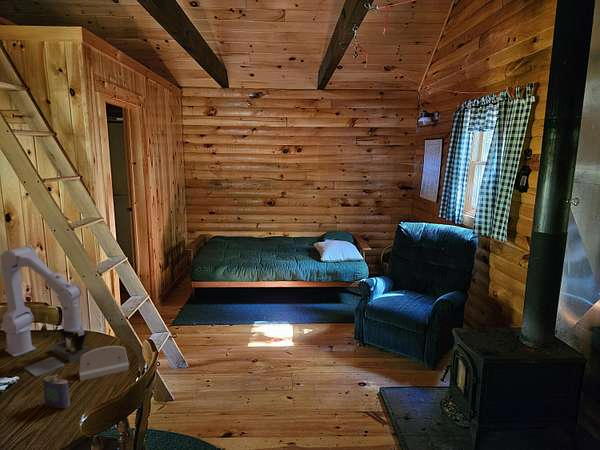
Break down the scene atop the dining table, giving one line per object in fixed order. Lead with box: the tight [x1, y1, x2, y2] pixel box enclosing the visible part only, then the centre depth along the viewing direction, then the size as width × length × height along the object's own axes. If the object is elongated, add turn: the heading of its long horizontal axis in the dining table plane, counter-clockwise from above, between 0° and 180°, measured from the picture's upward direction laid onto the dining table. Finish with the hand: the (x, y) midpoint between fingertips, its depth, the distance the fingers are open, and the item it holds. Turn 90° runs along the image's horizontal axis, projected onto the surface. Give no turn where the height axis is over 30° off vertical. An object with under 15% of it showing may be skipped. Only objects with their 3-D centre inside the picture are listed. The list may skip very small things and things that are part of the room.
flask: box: [42, 373, 71, 410], centre depth 122 cm, size 9×3×11 cm, turn 74°
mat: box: [23, 356, 66, 378], centre depth 145 cm, size 10×10×1 cm
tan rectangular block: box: [66, 336, 80, 354], centre depth 154 cm, size 4×4×8 cm
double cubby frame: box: [50, 339, 91, 363], centre depth 156 cm, size 16×8×2 cm, turn 56°
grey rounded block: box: [78, 345, 130, 382], centre depth 143 cm, size 17×5×10 cm, turn 118°
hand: (74, 347), depth 154 cm, fingers open, 7 cm apart
